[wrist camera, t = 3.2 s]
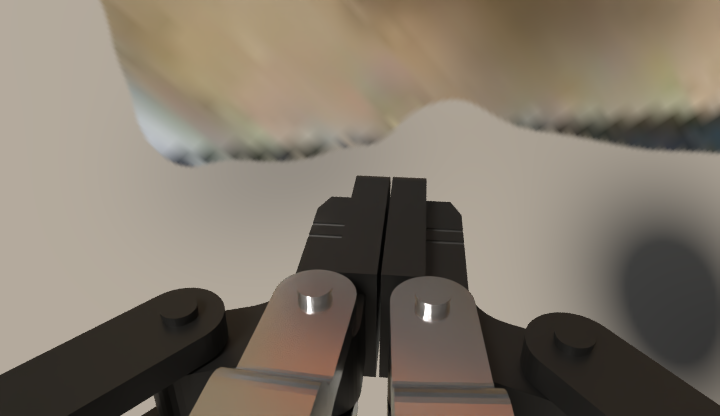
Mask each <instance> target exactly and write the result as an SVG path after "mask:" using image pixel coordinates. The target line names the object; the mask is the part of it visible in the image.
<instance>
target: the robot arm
mask: <svg viewBox="0 0 720 416" xmlns="http://www.w3.org/2000/svg"><path fill="white" fill-rule="evenodd" d="M390 184H391V183H390V177H377V176H357V177H356V181H355V185H354V189H353V193H352V197H351V198H349V197H331V198H330V199H328V200H327V201H326V202H325V203H324V204H323V205H321V206H320V207H319V208H318V210H317V213H316V215H315V218H314V222H313V225H312V227H311V230H310V233H309V237H308V239H307V242H306V245H305V248H304V251H303V254H302V257H301V260H300V263H299V266H298V269H297V272H296V274H293V275H291V276H289V277H288V278H286V279H285V280H283V281H282V282H281V283H280V284H279V285H278V286H277V288H276V289H275V291H274V293H273V295H272V297H271V299H270V301H268V302H266V303H263V304H260V305H256V306H251V307H245V308H239V309H232V310H226V311H225V307H224V303H223V301H222V300H221V298H220V297H219V296H218V295H216V294H215V293H213V292H211V291H208V290H205V289H200V288H183V289H177V290H172V291H169V292H166V293H164V294H161V295H159V296H157V297H155V298H153V299H151V300H149V301H147V302H145V303H143V304H141V305H139V306H137V307H135V308H133V309H131V310H129V311H127V312H125V313H123V314H121V315H119V316H117V317H115V318H113V319H111V320H109V321H107V322H105V323H103V324H101V325H99V326H97V327H95V328H93V329H91V330H89V331H87V332H85V333H83V334H81V335H79V336H77V337H75V338H73V339H71V340H69V341H67V342H65V343H63V344H61V345H59V346H57V347H55V348H53V349H51V350H49V351H47V352H45V353H43V354H41V355H39V356H37V357H35V358H33V359H31V360H29V361H27V362H25V363H23V364H21V365H19V366H17V367H15V368H13V369H11V370H9V371H7V372H5V373H3V374H1V375H0V416H120V415H122V414H123V413H125V412H127V411H128V410H130V409H132V408H133V407H135V406H137V405H138V404H140V403H141V402H143V401H145V400H147V399H148V398H150V397H151V396H153V395H154V398H155V402H156V407H154V408H153V409H151V410H150V411H148V412H147V413H145V414H143V415H142V416H357V411H358V399H359V397H360V393H361V387H362V380H363V376H369V377H376V369H377V358H378V349H379V341H380V365H379V368H380V369H379V377H386V378H388V397H387V416H720V405H718V404H717V403H715V402H714V401H712V400H711V399H709V398H708V397H706V396H705V395H704V394H702V393H701V392H699V391H698V390H696V389H694V388H693V387H692V386H690V385H689V384H687V383H686V382H684V381H683V380H681V379H680V378H679V377H677V376H676V375H674V374H673V373H671V372H670V371H668V370H667V369H665V368H664V367H662V366H661V365H660V364H658V363H657V362H655V361H654V360H652V359H651V358H649V357H648V356H646V355H645V354H643V353H642V352H640V351H639V350H638V349H636V348H635V347H633V346H632V345H630V344H629V343H627V342H626V341H624V340H623V339H621V338H620V337H618V336H617V335H615V334H614V333H612V332H611V331H610V330H608V329H607V328H605V327H604V326H602V325H601V324H599V323H597V322H595V321H593V320H591V319H589V318H586V317H583V316H580V315H576V314H571V313H558V312H557V313H549V314H544V315H541V316H539V317H537V318H535V319H534V320H532V321H531V322H530V323H529V324H528V326H527V328H526V329H524V328H521V327H518V326H514V325H511V324H508V323H505V322H502V321H499V320H497V319H495V318H493V317H491V316H489V315H487V314H486V313H485V312H483V311H482V310H481V309H479V308H478V307H477V305H476V304H475V301H474V298H473V296H472V295H471V293H470V292H469V290H468V281H467V270H466V259H465V248H464V238H463V228H462V216H461V214H460V213H459V212H458V211H457V210H456V208H455V207H454V206H453V205H452V204H451V202H436V201H426V179H425V178H402V177H393V181H392V189H391V197H390Z"/></svg>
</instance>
